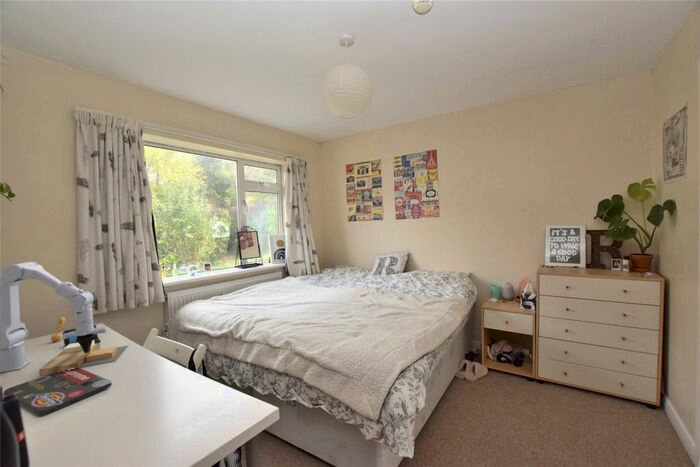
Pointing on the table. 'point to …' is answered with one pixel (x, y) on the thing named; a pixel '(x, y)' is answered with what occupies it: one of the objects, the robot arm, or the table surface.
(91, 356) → the orange rectangular block
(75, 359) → the deck
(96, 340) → the handheld game console
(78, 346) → the cream rectangular block
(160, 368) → the table surface
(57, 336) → the figurine
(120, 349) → the mat
